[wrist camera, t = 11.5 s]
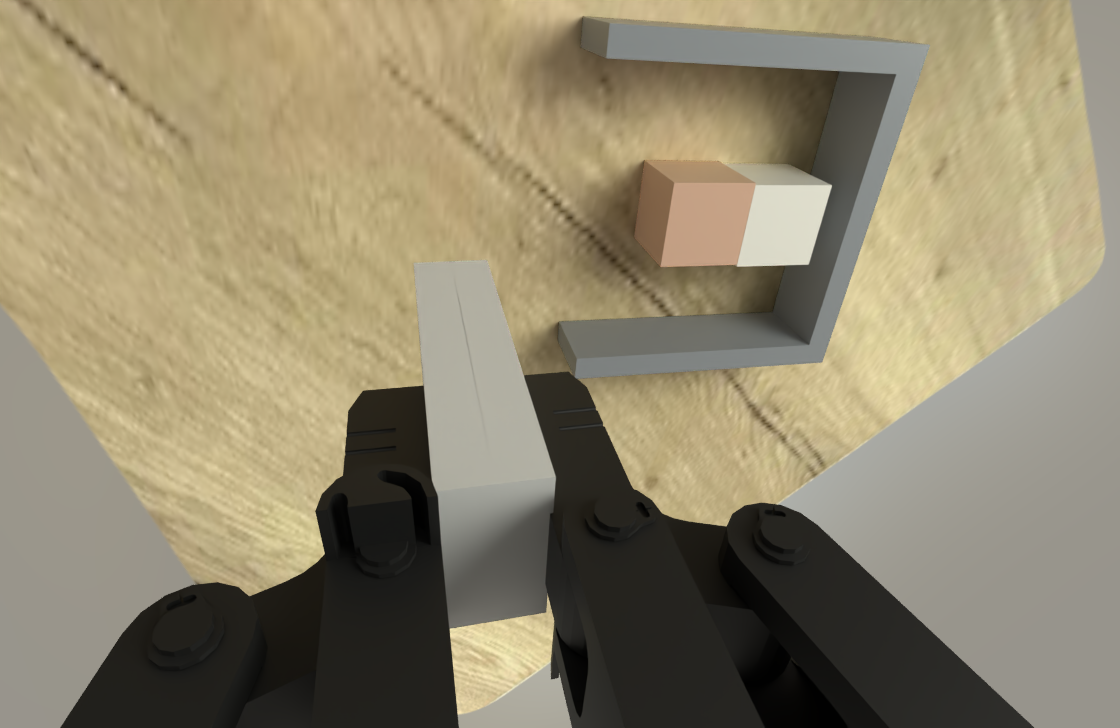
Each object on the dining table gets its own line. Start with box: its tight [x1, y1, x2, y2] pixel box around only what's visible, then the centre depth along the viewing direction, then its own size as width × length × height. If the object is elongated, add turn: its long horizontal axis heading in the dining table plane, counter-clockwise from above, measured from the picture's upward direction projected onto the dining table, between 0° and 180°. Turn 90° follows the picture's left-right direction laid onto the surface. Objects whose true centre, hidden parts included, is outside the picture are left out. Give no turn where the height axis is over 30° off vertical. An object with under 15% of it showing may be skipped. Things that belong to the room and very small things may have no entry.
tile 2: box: [723, 163, 832, 267], centre depth 39 cm, size 5×5×5 cm
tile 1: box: [634, 160, 756, 267], centre depth 38 cm, size 5×5×5 cm
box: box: [558, 16, 930, 379], centre depth 39 cm, size 20×18×5 cm
